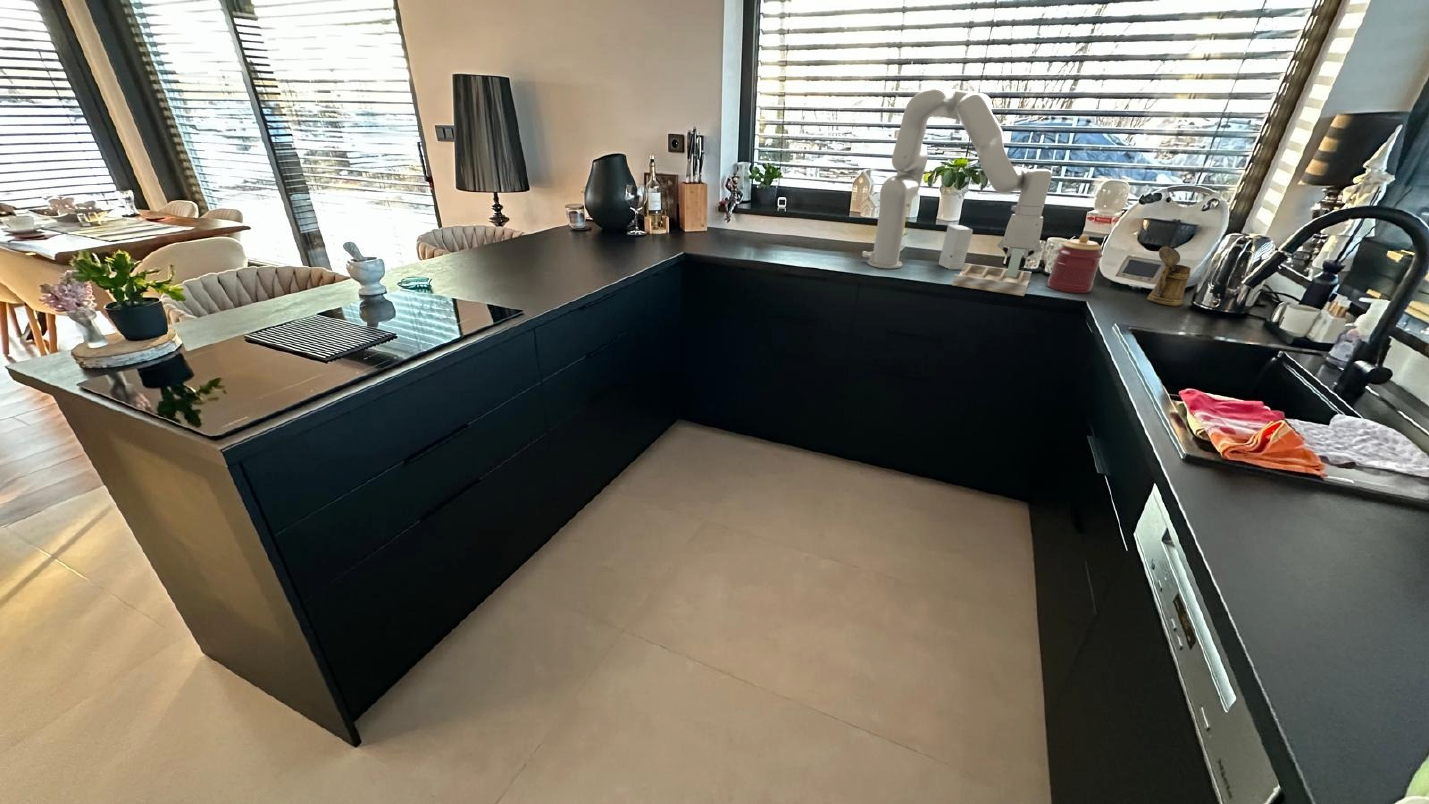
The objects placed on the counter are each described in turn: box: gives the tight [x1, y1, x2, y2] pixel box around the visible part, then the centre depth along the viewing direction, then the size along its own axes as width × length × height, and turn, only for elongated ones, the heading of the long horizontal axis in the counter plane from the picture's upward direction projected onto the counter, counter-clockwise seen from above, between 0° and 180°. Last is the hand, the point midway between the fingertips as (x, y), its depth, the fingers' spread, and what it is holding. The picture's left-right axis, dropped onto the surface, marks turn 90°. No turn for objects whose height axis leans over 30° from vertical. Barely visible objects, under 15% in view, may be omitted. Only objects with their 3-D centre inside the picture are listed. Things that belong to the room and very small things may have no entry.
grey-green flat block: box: [1006, 248, 1025, 277], centre depth 183 cm, size 3×8×9 cm, turn 149°
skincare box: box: [938, 224, 974, 270], centre depth 207 cm, size 8×6×15 cm
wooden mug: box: [1146, 245, 1192, 307], centre depth 170 cm, size 9×14×18 cm, turn 110°
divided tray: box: [951, 262, 1032, 297], centre depth 189 cm, size 22×20×4 cm
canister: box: [1047, 234, 1103, 294], centre depth 183 cm, size 13×13×18 cm
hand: (1013, 268), depth 185 cm, fingers closed on grey-green flat block, 3 cm apart
